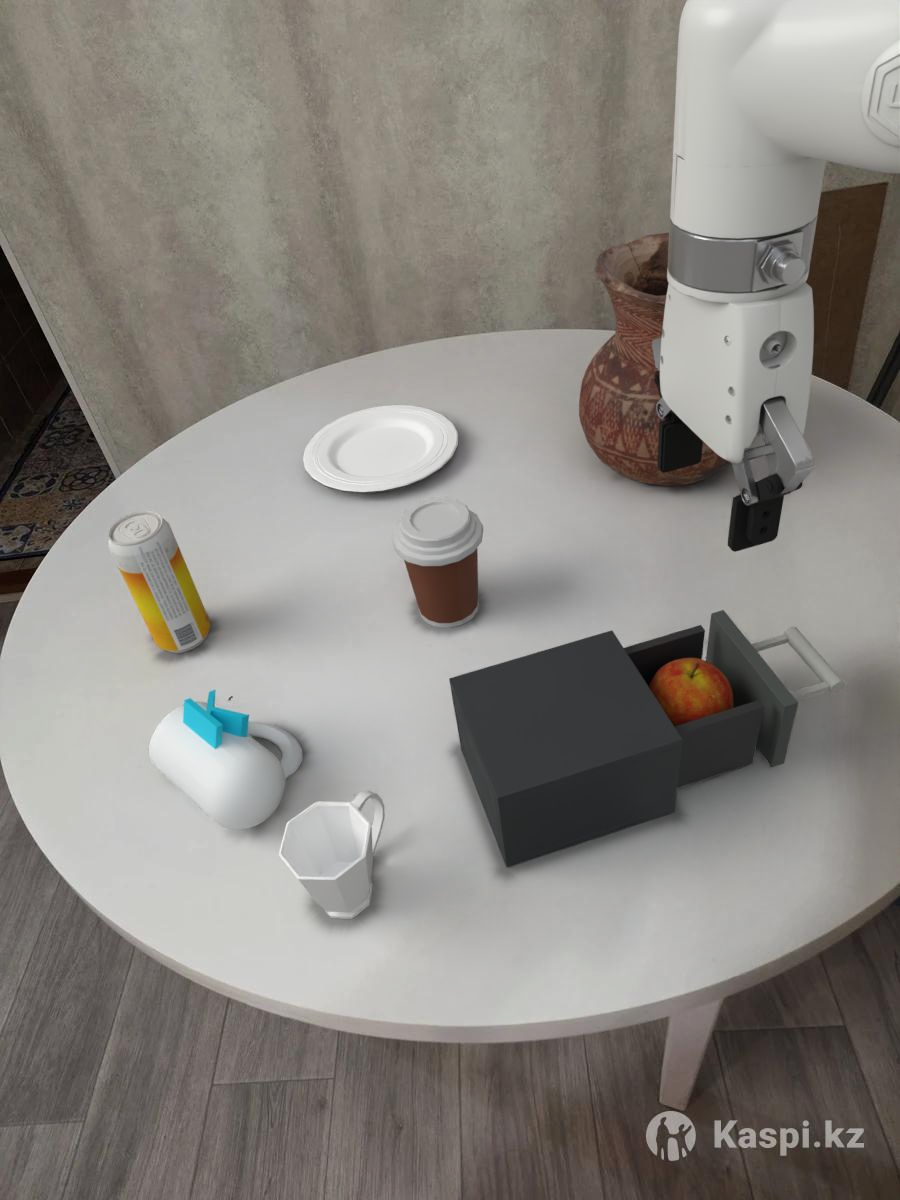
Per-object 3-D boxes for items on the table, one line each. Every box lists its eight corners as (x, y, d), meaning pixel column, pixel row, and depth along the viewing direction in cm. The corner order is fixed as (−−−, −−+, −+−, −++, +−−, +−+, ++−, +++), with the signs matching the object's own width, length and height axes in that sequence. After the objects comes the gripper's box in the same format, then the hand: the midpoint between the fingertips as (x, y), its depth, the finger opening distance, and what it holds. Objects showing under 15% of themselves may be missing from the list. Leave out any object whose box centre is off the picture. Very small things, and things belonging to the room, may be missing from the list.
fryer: (611, 703, 80) (612, 629, 74) (675, 812, 71) (682, 739, 64) (461, 749, 78) (448, 678, 72) (506, 868, 69) (497, 798, 62)
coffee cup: (501, 583, 94) (492, 493, 86) (477, 642, 88) (465, 551, 80) (422, 574, 97) (407, 486, 89) (394, 630, 91) (374, 541, 83)
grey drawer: (775, 651, 81) (787, 590, 76) (850, 742, 73) (870, 679, 68) (579, 712, 78) (578, 652, 73) (634, 813, 70) (637, 753, 65)
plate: (446, 503, 106) (444, 490, 105) (286, 503, 110) (282, 490, 109) (470, 414, 121) (468, 402, 120) (328, 417, 125) (325, 405, 124)
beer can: (196, 609, 97) (150, 500, 87) (222, 635, 93) (177, 525, 83) (147, 636, 94) (94, 528, 84) (171, 665, 91) (118, 555, 80)
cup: (285, 915, 68) (258, 860, 63) (352, 814, 74) (333, 757, 69) (360, 951, 65) (338, 897, 60) (423, 843, 71) (409, 786, 66)
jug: (759, 509, 98) (792, 296, 82) (573, 507, 103) (569, 304, 86) (746, 408, 114) (771, 213, 97) (585, 410, 118) (583, 223, 102)
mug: (233, 767, 67) (149, 696, 73) (227, 858, 70) (148, 783, 77) (347, 719, 75) (262, 660, 82) (336, 802, 79) (256, 739, 86)
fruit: (647, 759, 73) (651, 696, 67) (643, 696, 78) (646, 633, 72) (733, 761, 71) (744, 697, 66) (723, 697, 76) (733, 633, 71)
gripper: (904, 289, 41) (840, 562, 53) (721, 191, 54) (701, 428, 65) (762, 325, 40) (728, 596, 52) (609, 217, 53) (609, 453, 64)
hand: (713, 502), depth 59 cm, fingers open, 9 cm apart
